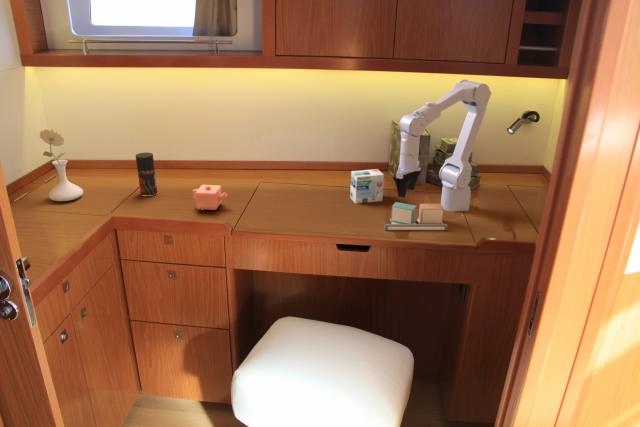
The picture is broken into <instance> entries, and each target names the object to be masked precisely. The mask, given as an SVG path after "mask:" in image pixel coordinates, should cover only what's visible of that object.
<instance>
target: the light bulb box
mask: <svg viewBox="0 0 640 427" xmlns="http://www.w3.org/2000/svg"><path fill="white" fill-rule="evenodd" d="M384 181H385V174H384V173H383V172H381V171H380V170H379V169H378V168H375V169H363V170H351V172H350V189H349V190H350V194H349V198H350V199H351V201H353V203H354V204H355V205H357V204H365V203H372V202H373V203H375V202H383V196H384V194H383V193H384V183H385V182H384Z"/></svg>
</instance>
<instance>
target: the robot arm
mask: <svg viewBox="0 0 640 427" xmlns="http://www.w3.org/2000/svg"><path fill="white" fill-rule="evenodd" d="M491 94H492V92H491V90H490V87H489V85H488V84H487V83H481V82H475V81H472V80H468V79H461V80H460V81H459V82H456V84H454V87H453V88H452V89H451V90H449V91H448V92H447V93H445V94H444V95H443V96H442V97H440V98H439V99H438V100H437V101H435V102H434V101H427V102H425V103H424V105H423V106H421V107H420V108H419V109H417V110H414V111H413V112H412V113H411V114H410V113H409V114H408V113H407V114H405V115H403V116H402V117H401V118H400V120H399V122H398V123H397V126H398V129H399V131H400V137H401V138H400V150H399V151H400V153H399V154H400V155H399V165H398V168H397V171H396V173H395V174H393V175H392V180H393V181H394V183H395V186H396V192H397V196H398V197H399V198H405V197H406V195H407V191H408V190H409V191H410V190H411V191H414V190H415V187H416V184H417V181H418V179H419V176H420V175H421V173H422V172H423V169H422V167H420V160H419V153H420V152H419V151H420V142H421V141H420V140H421V135H422V134H423V133H424V131H425V130H426V128H427V127H428V125H430V124H432V123H433V122H435V121H436V120H437V119H439V118H440V117H441V115H442V114H441V113H442V112H443V111H445V110H447V109H448V108H450V107H452V106H454V105H456V104H457V103H459V102H461V103H462V104H464V106H465V108H466V111H467V114H466V116H465V119H464V121H463V124H462V128H461V130H460V132H459V136H458V139H457V141H456V145H455V147H454V150H453V153H452V155H451V156H449V157H447V158H446V159H445V161H444V163H443V165H442V166H441V168H440V170H439V171H438V172H439V173H438V176H439V179H440V180H441V184H442V190H441V198H440V204H441V205H442V206H443V208H444V211H447V212H453V213H454V212H468V211H469V209H470V203H471V197H472V194H471V193H472V191H471V186H470V185H469V184H470V182H471V177H472V175H471V174H472V170H473V168H472V165H471V164H470V162H469V158H470V156H471V153H472V151H473V148H474V145H475V143H476V139H477V138H478V134H479V132H480V129H481V126H482V122H483V120H484V118H485V114H486V113H487V112H486V111H487V107H488V105H489V101H490V98H491V96H492V95H491Z"/></svg>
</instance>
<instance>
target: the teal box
mask: <svg viewBox="0 0 640 427" xmlns="http://www.w3.org/2000/svg"><path fill="white" fill-rule="evenodd" d="M416 213H417V205H415V204H409V203H403V202H398V201H395V202H394V203H393V205H391V215H390V219H391V220H390V222H395V223H400V224H413V223H414V222H416V215H417V214H416Z"/></svg>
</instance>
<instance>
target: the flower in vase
mask: <svg viewBox="0 0 640 427" xmlns="http://www.w3.org/2000/svg"><path fill="white" fill-rule="evenodd" d="M39 138H40V139H41V140H42V141H43V142H44V143H46V144H48V145H49V146H50V147H49V151H44V152H43V154H42V156H46V157H49V158H54V159H55V160H53V161H51V164H52V165H53V166H54V167H55V168H56V171H57V173H58V177H59V180H58V181H59V182H58V184H56V185H55V186H54V187H53V188H52V189H51V190H50V192H49V193H48V198H49V199H50V200H51V201H55V202H68V201H69V202H70V201H72V200H73V201H74V200H77V199H78V198H79V197H81V196H82V195H83V194H84V190H83V188H81V187H80V186H79V185H77V184H74V183H73V182H70V181H69V180H68V178H67V173H66V166H67V163H68V162H69V160H67V159H59V158H61V157H62V156H63V155H64V154H65V152H62V153H59V155H57V157H56V156H55V155H54V153H53V151H52V146H53V147H59V146H63V145H65V139H64V137H63V136H62V134H61V133H59V132H58V131H54V130H53V129H50V130H49V129H43V130H42V131H39Z"/></svg>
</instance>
